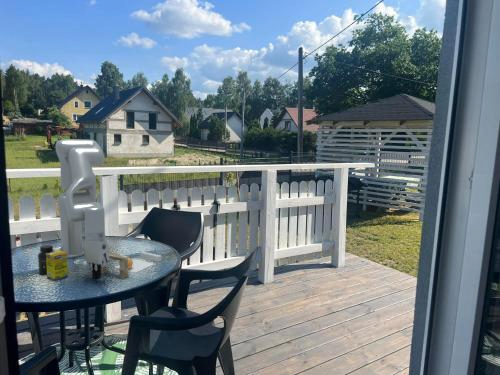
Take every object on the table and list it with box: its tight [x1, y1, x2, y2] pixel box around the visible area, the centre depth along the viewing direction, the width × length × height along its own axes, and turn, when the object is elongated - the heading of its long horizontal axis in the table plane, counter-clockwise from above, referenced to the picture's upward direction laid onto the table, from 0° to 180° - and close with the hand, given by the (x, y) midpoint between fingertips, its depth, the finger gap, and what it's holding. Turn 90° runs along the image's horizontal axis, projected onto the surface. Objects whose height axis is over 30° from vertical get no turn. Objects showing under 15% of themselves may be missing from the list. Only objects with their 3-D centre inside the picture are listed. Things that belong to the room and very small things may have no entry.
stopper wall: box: [139, 251, 163, 263], centre depth 185 cm, size 2×12×2 cm, turn 63°
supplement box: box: [46, 250, 69, 282], centre depth 159 cm, size 6×6×11 cm
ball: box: [128, 257, 133, 269], centre depth 171 cm, size 6×6×6 cm
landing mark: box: [113, 258, 155, 274], centre depth 176 cm, size 13×13×1 cm
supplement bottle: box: [37, 244, 54, 276], centre depth 163 cm, size 7×7×12 cm
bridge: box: [101, 251, 129, 280], centre depth 163 cm, size 3×14×9 cm, turn 63°
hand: (96, 278), depth 156 cm, fingers closed
